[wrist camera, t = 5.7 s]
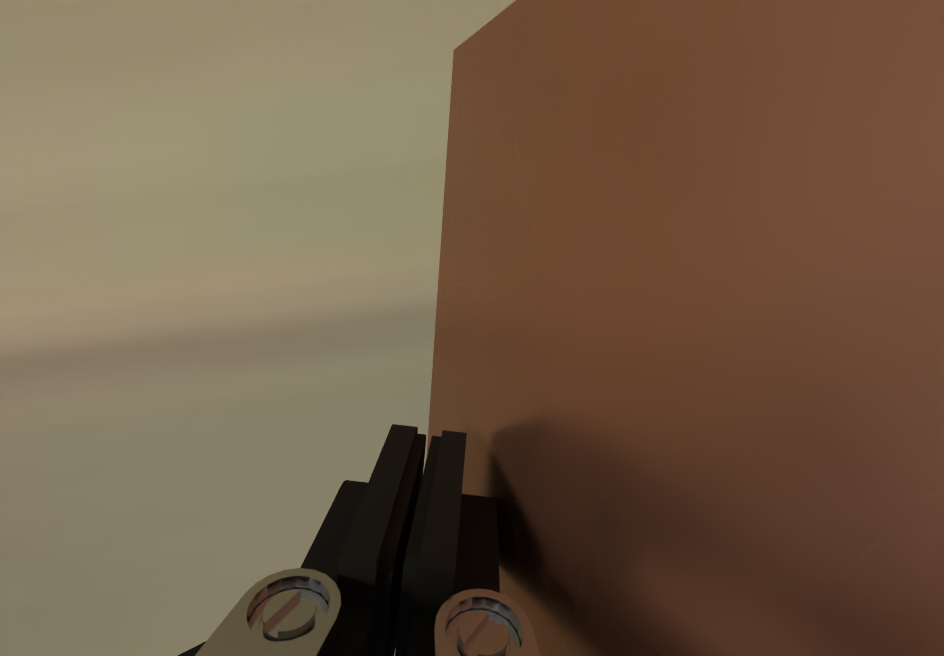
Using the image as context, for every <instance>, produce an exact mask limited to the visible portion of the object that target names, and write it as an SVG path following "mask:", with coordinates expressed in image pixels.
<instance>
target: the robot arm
mask: <svg viewBox="0 0 944 656" xmlns="http://www.w3.org/2000/svg"><path fill="white" fill-rule="evenodd" d="M417 433H418V428H417V427H412V426H404V425H395V424H392V426H391V429H390V431H389V433H388V436H387V438H386V441H385V443H384V446H383V448H382V451H381V453H380V456H379V458H378V460H377V463H376V465H375V468H374V470H373V473H372V475H371V478H370V480H369V483H366V482H357V481H349V480H346V481H344V482H343V484H342V485H341V487H340V489H339V491H338V493H337V495H336V497H335V499H334V501H333V503H332V505H331V507H330V509H329V511H328V513H327V515H326V517H325V519H324V521H323V523H322V525H321V527H320V529H319V532H318V534H317V536H316V538H315V540H314V542H313V544H312V546H311V548H310V550H309V552H308V554H307V556H306V558H305V560H304V562H303V564H302V566H301V568H297V569H288V570H283V571H280V572H277V573H274V574H271V575H269V576H267V577H266V578H264V579H262V580H261V581H259V582H257V583H256V584H255V585H253V586H252V587H251V588H250V589H249V590H248V591H247V592H246V593H245V594H244V595H243V597H242V598H241V599H240V600H239V601H238V603H237V604H236V605H235V606H234V608H233V609H232V610H231V611H230V613H229V614H228V615H227V616H226V618H225V619H224V620H223V621H222V623H221V624H220V625H219V626H218V628H217V629H216V630H215V631H214V633H213V634H212V635H211V636H210V637H209V639H208V640H207V641H206V642H204V643H202V644H200V645H198V646H196V647H194V648H192V649H190V650H188V651H186V652H184V653H182V654H180V655H178V656H394V653H395V656H540V653H539V649H538V646H537V642H536V638H535V634H534V631H533V627H532V625H531V623H530V621H529V618H528V616H527V614H526V613H525V612H524V611H523V610H522V608H521V607H520V606H519V605H518V604H517V603H516V602H514V601H513V600H511V599H510V598H509V597H507V596H506V595H503V594H501V593H500V579H499V547H498V515H497V499H496V498H495V497H487V496H478V495H469V494H462V485H463V473H464V461H465V449H466V437H467V433H463V432H455V431H446V430H442V435H441V437H440V436H432V437H431V442H430V446H429V451H428V455H427V460H426V464H425V469H424V473H423V467H424V456H425V445H426V435H424V434H417ZM395 648H396V652H395Z"/></svg>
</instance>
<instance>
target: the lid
mask: <svg viewBox="0 0 944 656" xmlns="http://www.w3.org/2000/svg"><path fill="white" fill-rule="evenodd" d="M442 430H446V431H455V432H463V433H467V437H466V449H465V461H464V473H463V485H462V494H469V495H478V496H487V497H495V498H496V499H497V515H498V547H499V579H500V593H501V594H503V595H506V596H507V597H509V598H510V599H511V600H513V601H514V602H516V603H517V604H518V605H519V606H520V607H521V608H522V610H523V611H524V612H525V613H526V614H527V616H528V618H529V621H530V623H531V625H532V627H533V631H534V634H535V638H536V642H537V646H538V649H539V653H540V656H944V0H516V1H515V2H513V3H512V4H511V5H510V6H508V7H507V8H506V9H505V10H503V11H502V12H501V13H500V14H498V15H497V16H496V17H495V18H493V19H492V20H491V21H490V22H488V23H487V24H486V25H485V26H483V27H482V28H481V29H480V30H478V31H477V32H476V33H475V34H473V35H472V36H471V37H470V38H468V39H467V40H466V41H465V42H463V43H462V44H461V45H459V46H458V47H457V48H456V49H454V55H453V70H452V85H451V100H450V115H449V130H448V145H447V160H446V174H445V189H444V204H443V219H442V234H441V249H440V264H439V279H438V294H437V309H436V324H435V339H434V354H433V369H432V384H431V399H430V414H429V429H428V444H427V455H428V451H429V446H430V442H431V437H432V436H440V437H441V435H442ZM426 460H427V458H426Z"/></svg>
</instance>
